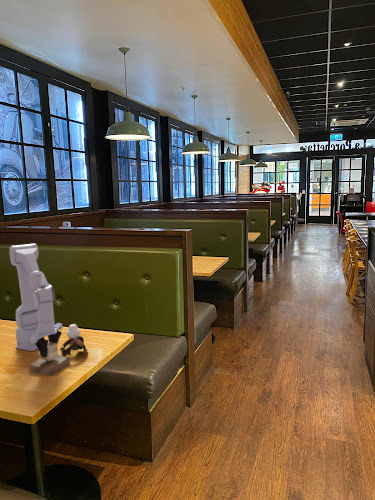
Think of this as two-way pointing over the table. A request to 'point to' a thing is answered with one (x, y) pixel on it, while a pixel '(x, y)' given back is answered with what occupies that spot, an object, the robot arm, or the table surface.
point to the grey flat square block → (49, 365)
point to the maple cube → (51, 351)
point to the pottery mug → (74, 346)
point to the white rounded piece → (73, 331)
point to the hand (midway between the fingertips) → (49, 353)
